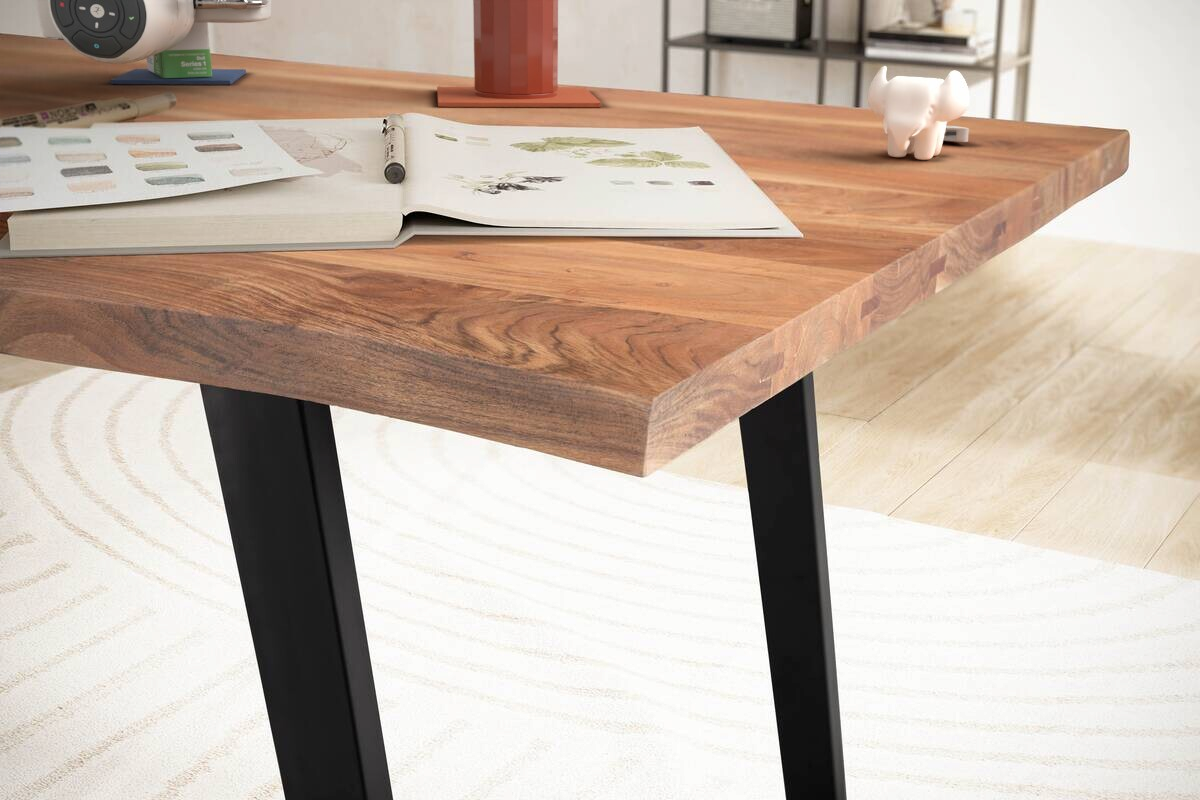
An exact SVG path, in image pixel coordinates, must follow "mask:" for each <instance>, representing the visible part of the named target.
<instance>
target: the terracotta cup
mask: <svg viewBox="0 0 1200 800" xmlns="http://www.w3.org/2000/svg"><path fill="white" fill-rule="evenodd" d="M472 8H473V9H472V24H473V25H472V26H473V27H472V28H473V30H472V32H473V35H472V36H473V87H474V89H475V95H477V96H480V97H487V98H497V99H541V98H550V97H555V96H557V90H558V87H559V86H558V85H559V84H558V82H559V80H558V75H559V74H558V73H559V72H558V71H559V70H558V66H559V63H558V62H559V0H472Z"/></svg>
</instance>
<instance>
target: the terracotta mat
mask: <svg viewBox="0 0 1200 800" xmlns="http://www.w3.org/2000/svg"><path fill="white" fill-rule="evenodd" d="M436 92H437V93H436V94H437V96H436V97H437V107H438V108H602V101H600V100H599V99H598V98H597V97H596V96H595V95H593V93H592V92H591V91H590V90H589V89H587V88H586V87H575V86H574V87H573V86H572V87H570V86H569V87H564V86H562V87H560V86H558V90H557V96H555V97H550V98H541V99H497V98H487V97H480V96H477V95H475V89H474V86H436Z"/></svg>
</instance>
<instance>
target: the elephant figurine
mask: <svg viewBox="0 0 1200 800" xmlns="http://www.w3.org/2000/svg"><path fill="white" fill-rule="evenodd" d="M887 68H888V67H887V66H886V65H883V66H881V67H880V68H879V70H878V71H877V73H876V74H875V76H874V77H873V79H872V81H871V83H870V84H869V89H868V91H867V92H868V93H867V104H868V107H869V109H870V110H871V112H872V114H874V115H876V116H877V117H879V118H883V120H882V126H883V131H884V133H885V134H886V135H887V141H886V142H887V143H886V144H887V146H886V148H887V154H888V156H890V157H893V158H904V157H906V156H907V154H911V153H913V155H914V158H915V159H917V160H921V161H927V160H930V159H932V158H933V157H934V156H938V155H939V154H940V153H941V150H942V147H943V143H944V141H943V139H944V134H945V129H946V126H947V123H948V122H950V121H954V120H957V119H959V118H961V117H962V116H963V115H964V114H965V113H966V112H967V111H968V108H969V105H970V91H969V88H968V84H967V82H966V80H965V78H964V76H963V74H962V73H960V71H958V70H950V71H949V73H948V74H947V76H946V77H945V78H944V79H942V78H936V77H920V76H905V75H896V76H894V77H893V78H892V77H891V79H890V80H889V81H888V80H887Z"/></svg>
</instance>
